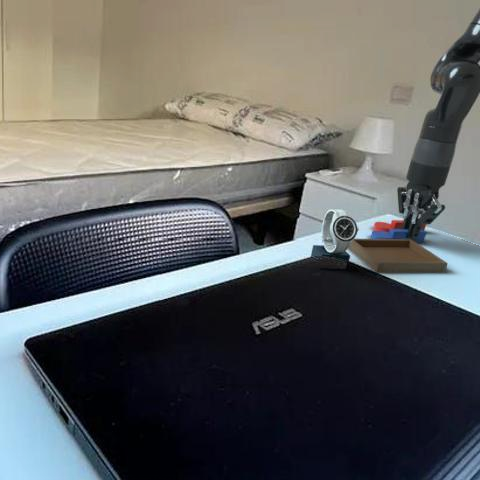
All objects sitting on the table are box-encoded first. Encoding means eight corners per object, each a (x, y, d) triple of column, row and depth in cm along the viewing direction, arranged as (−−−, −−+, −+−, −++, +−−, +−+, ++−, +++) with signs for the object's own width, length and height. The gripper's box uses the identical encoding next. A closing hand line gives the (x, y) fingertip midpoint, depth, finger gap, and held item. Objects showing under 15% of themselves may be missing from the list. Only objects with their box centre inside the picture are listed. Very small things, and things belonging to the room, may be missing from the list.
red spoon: (415, 228, 119) (418, 218, 118) (427, 235, 115) (430, 225, 114) (369, 227, 117) (372, 217, 116) (379, 235, 113) (382, 224, 112)
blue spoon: (415, 237, 114) (418, 226, 113) (427, 245, 110) (430, 234, 109) (366, 236, 112) (369, 226, 111) (377, 244, 108) (380, 233, 107)
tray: (408, 248, 107) (411, 239, 107) (444, 272, 97) (447, 263, 96) (346, 247, 105) (348, 238, 104) (376, 273, 94) (379, 263, 94)
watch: (323, 274, 92) (336, 218, 88) (306, 255, 99) (317, 203, 95) (351, 275, 93) (366, 219, 88) (333, 256, 100) (345, 204, 96)
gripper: (470, 170, 98) (443, 250, 105) (426, 153, 111) (404, 225, 118) (437, 169, 97) (412, 250, 104) (395, 152, 109) (375, 225, 116)
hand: (408, 236), depth 111 cm, fingers closed on blue spoon, 1 cm apart
